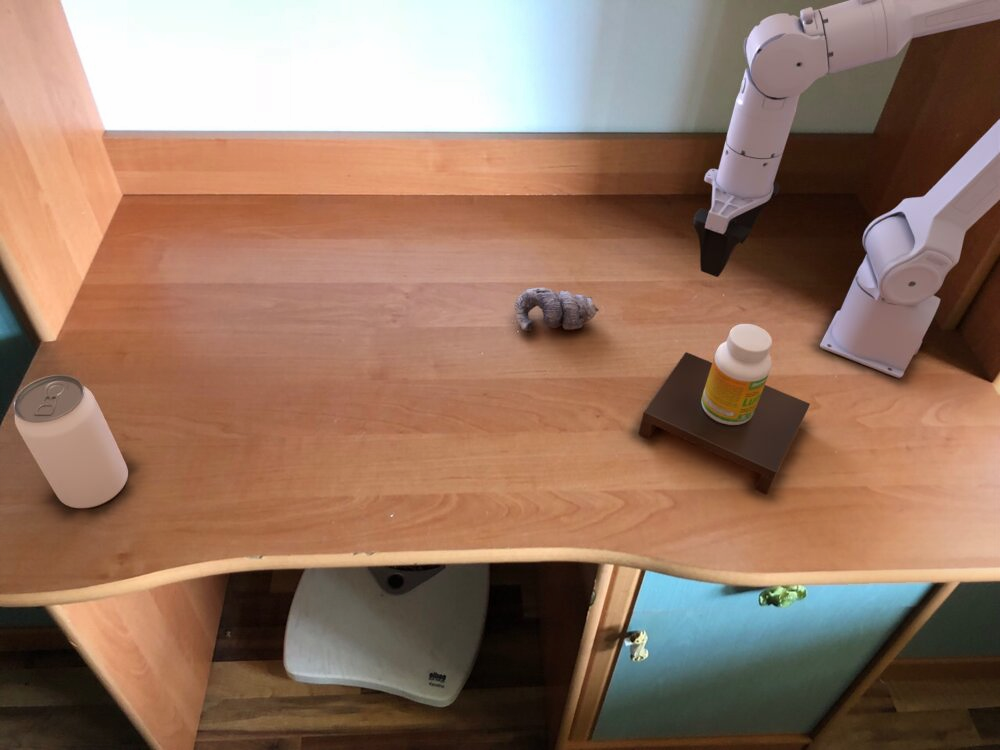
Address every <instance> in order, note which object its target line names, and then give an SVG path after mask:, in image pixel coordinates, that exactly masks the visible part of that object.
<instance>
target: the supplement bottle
mask: <svg viewBox="0 0 1000 750" xmlns="http://www.w3.org/2000/svg"><path fill="white" fill-rule="evenodd" d="M772 344H773V339H772V336H771V334H770V333H769V332H768V331H767V330H765V329H764V328H763V327H761V326H759V325H756V324H751V323H739V324H736V325H735V326H733V327H732V328H731V330H730V331H729V333H728V336H727V338H726V341H724V342H722V343H721V344H720V345H719V346H718V347H717V349H716V351H715V354H714V356H713V359H712V362H711V363H712V366H711V369H710V373H709V376H708V379H707V382H706V385H705V389H704V392H703V395H702V407H703V409H704V411H705V412H706V413H707V415H708V416H710V417H711V418H712V419H714V420H716V421H718V422H720V423H723V424H728V425H739V424H743V423H745V422H747V421H748V420H749V419H750V418H751V417H752V416H753V414H754V411H755V409H756V406H757V404H758V401H759V399H760V396H761V393H762V391H763V388H764V386H765V385H766V383H767V381H768V377H769V375H770V372H771V369H772V358H771V355H770V350H771V348H772Z"/></svg>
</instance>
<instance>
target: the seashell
mask: <svg viewBox="0 0 1000 750" xmlns="http://www.w3.org/2000/svg"><path fill="white" fill-rule="evenodd" d="M536 307H538V308H539V309H541V313H542V315H543V318H542V321H543V324H544V325H545V326H546V327H548V328H552V329H557V328H558V327H560V326H562V327H563V329H564V330H565V331H566V330H567V331H568V330H577V329H581V328H582V327H583V325H585V324H587V323H588V322H590V321H591V320H592V319H593V318H594V317H595V315H596V314H597V312H599V310H600V309H599V308H598V307H597V306H596V305H595V303H594V301H593V298H592V297H591V296H587V297H586V296H585V295H584V294H583V293H580V294H575V295H574V294H573V293H572V292H571V291H568V290H561V291H558V292H556V291H554V290H553V289H551V288H548V287H542V286H541V287H540V286H539V287H534V288H532V287H530V288H527V289H525V290H524V291H523V292H522V293H521V294H520V295H519V296H518V297H517V299H516V301H515V302H514V310H515V317H516V321H517V323H518V324H519V326H520V329H521V331H529V332H530V331H532V328H533V326H534V325H535V322H534V320H532V319H531V318H530V317H529V313H530V312H531V311H532V310H533V309H534V308H536Z"/></svg>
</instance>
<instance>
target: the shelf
mask: <svg viewBox="0 0 1000 750" xmlns="http://www.w3.org/2000/svg"><path fill="white" fill-rule="evenodd" d="M712 363H713V362H711V361H709V360H706V359H704V358H703V357H699V356H697V355H695V354H693V353H689V352H688V351H685V352H684V353H683V355H682V357H681V358H680V360H678V362H677V363H676V365H675V367H674V368H673V369H672V371H671V372H670V373H669V375H668V376H667V378H666V379H665V380H664V382H663V383H662V385H661V386H660V388H659V389H658V390H657V392H656V393H655V395H654V397H653V398H652V400H651V401H650V402H649V403H648V405H647V407H646V408H645V410H644V411H643V413H642V417H641V421H640V426H639V428H638V429H639V430H638V435H639V436H641V437H643V438H645V439H650V438H651V436H652V435H653V433H654V432H655V430H656V429H657V427H658V428H660V429H662V430H664V431H666V432H668V433H670V434H673V435H674V436H676V437H679V438H681V439H683V440H685V441H687V442H690V443H692V444H694V445H697V446H698V447H701V448H703V449H705V450H707V451H710V452H712V453H713V454H716V455H718V456H721V457H722V458H725V459H727V460H729V461H731V462H733V463H735V464H737V465H739V466H741V467H744V468H746V469H749V470H750V471H753V472H755V473H756V474H760V477H759V479H758V480H757V484H756V486H755V490H756V491H759V492H761V493H763V494H765V495H767V494H768V493H769V490H770V488H771V487H772V484H773V482H774V480H775V478H776V476H777V474H778V472H779V471H780V468H781V466H782V464H783V463H784V460H785V458H786V456H787V454H788V452H789V450H790V448H791V446H792V444H793V442H794V441H795V439H796V436H797V434H798V431H799V430H800V427H801V425H802V423H803V421H804V419H805V416H806V414H807V412H808V410H809V408H810V405H811V403H809V402H807V401H805V400H802V399H799V398H797V397H795V396H793V395H791V394H788V393H785V392H784V391H781V390H778V389H776V388H773V387H772V386H768V385H766V384H765V386H764V388H763V391H762V393H761V396H760V399H759V401H758V404H757V406H756V409H755V411H754V414H753V416H752V417H751V418H750V419H749V420H748V421H747V422H745V423H743V424H739V425H728V424H723V423H720V422H718V421H716V420H714V419H712V418H711V417H710V416H708V415H707V413H706V412H705V411H704V409H703V407H702V395H703V392H704V389H705V385H706V382H707V379H708V376H709V373H710V369H711V366H712Z"/></svg>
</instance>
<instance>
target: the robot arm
mask: <svg viewBox="0 0 1000 750" xmlns="http://www.w3.org/2000/svg"><path fill="white" fill-rule="evenodd" d="M799 14H800V15H799V16H797V15H795V14H792V15H790V14H789V13H786V12H785V13H784V12H783V13H782V12H781V13H775V14H772V15H769V16H767V17H765V18H763V19H762V20H761V21H759V24H758V25H755V26H754V27H753V28H752V30H751V31H750V33H749V35H748V37H745V38H744V40H743V54H744V57H745V60H746V62H747V64H748V67H746V68H745V70H744V74H743V78H742V81H741V84H740V90H739V92H738V94H737V96H736V99H735V103H734V107H733V110H732V115H731V119H730V123H729V126H728V130H727V134H726V138H725V142H724V146H723V151H722V154H721V158H720V161H719V165H718V169H716V168H710V169H709V170H707V172H706V173H705V175H704V179H703V181H704V182H705V183H707V184H710V185H711V186H712V188H711V189H712V190H711V207H710V209H709V210H708V209H705V208H702V207H700V208H699V210H698V211H697V212H696V213H695V214H694V217H693V227H694V229H695V232H696V234H697V238H698V242H699V261H700V262H699V263H700V264H699V265H700V272H702V273H704V274H708V275H710V276H713V277H715V278H719V277H720V275H721V274H722V272H723V271H724V270H725V268H726V266H727V264H728V262H729V260H730V258H731V257H732V256H731V255H732V254H733V252H734V250H735V248H736V247H737V245H739V244H743V243H744V242H745V241H746V240H747V239H748V237H749V235H750V234H751V231H752V230H753V228H754V226H755V224H756V222H757V220H758V218H759V217H760V215H761V213H762V211H764V208H765V207H766V206H767V205H768V204H769V203H770V202H771V201H772V200H773V199H774V198H775V197H776V196H777V194H778V193H779V192H780V189H781V185H780V184H779V183H778V182H777V181H775V179H776V176H777V173H778V170H779V167H780V163H781V160H782V157H783V154H784V150H785V147H786V144H787V142H788V138H789V135H790V132H791V128H792V126H793V125H792V124H793V122H794V119H795V115H796V112H797V109H798V103H799V100H800V96H801V94H802V93H804V92H805V91H807V89H809V88H810V87H811V86H812V84H813V83H814V82H815V81H816V80H818V79H820V78H823V77H826V76H828V75H829V76H830V75H832V74H837V73H840V72H843V71H847V70H851V69H855V68H858V67H862V66H866V65H870V64H873V63H877V62H878V63H879V62H881V61H885V60H888V59H892V58H894V57H896V56H897V55H898V54H899V53H900V52H901V50H902V49H903V48H904V47H905V46H906V44H907V43H908V42H909V41H910V40H911V39H915V38H920V37H924V36H928V35H933V34H938V33H943V32H947V31H951V30H956V29H960V28H965V27H966V28H967V27H969V26H975V25H979V24H984V23H988V22H989V23H990V22H992V21H998V20H1000V0H846V1H843V2H839V3H835V4H831V5H829V6H826V7H822V8H819V9H813V7H812V6H810V7H806V8H803V9H801V10H800V11H799ZM999 201H1000V118H999V119H998V120H997V121H996V122H995V123H994V124H993V125H992V126H991V127H990V128H989V129H988V131H987V132H985V133H984V135H982V137H980V138H979V139H978V140H977V141H976V142H975V144H974V145H973V146H972V147H970V149H968V151H967V152H966V153H965V154H964V155H963V156H962V157H961V158H960V159H959V160H958V161H957V162H956V163H955V164H954V165H953V166H952V167H951V168H950V169H949V170H948V171H947V172H946V173H945V174H944V175H943V176H942V177H941V178H940V179H939V180H938V181H937V182H936V184H935V185H933V186H932V188H931V189H929V190H928V192H927V193H926V194H924V195H923V196H916V197H908V198H907V197H906V198H904V199H902V201H901V202H900V203H899V204H898V205H897V206H895V207H894V208H893V209H892V210H890V211H888V212H886V213H884V214H882V215H880V216H878V217H876V218H875V219H874V220H872V221H871V222H870V223H869V224H868V225H867V226H866V228H865V230H864V232H863V236H862V246H863V249H864V251H865V252H866V254H865V257H864V258H863V260H862V263H861V264H860V266H859V267H858V270H857V271H856V274H855V276H854V278H853V280H852V283H851V285H850V287H849V290H848V292H847V294H846V296H845V298H844V301H843V303H842V306H841V307H840V310H837V311H836V312H835V315H834V317H833V319H832V320H831V323H830V324H829V326H828V329H827V330H826V332H825V333H824V336H823V338H822V340H821V342H820V344H819V347H820V349H823V350H825V351H828V352H831V353H833V354H836V355H837V356H838V355H839V356H840V357H842V358H843V357H844V358H846V359H848V360H851V361H854V362H856V363H859V364H861V365H864V366H866V367H869V368H871V369H874V370H877V371H879V372H881V373H883V374H886V375H890V376H892V377H895V378H897V379H901V378H902V377H903V376H904V374H905V371H906V370H907V368H908V366H909V364H910V362H911V360H912V359H913V356H914V355H917V354H918V352H919V350H920V348H921V345H922V344H923V339H924V337H925V335H926V334H927V331H928V329H929V327H930V325H931V323H932V322H933V319H934V317H935V315H936V313H937V310H938V309H939V306H940V303H941V298H939V297H938V296H936V295H935V294H937V292H938V291H939V290H940V289H941V287H942V286H943V283H944V280H945V279H946V277H947V275H948V273H949V272H950V271H951V270H952V269H953V268H954V267H955V266H956V265H957V264H958V263H959V261H960V257H961V254H962V248H963V244H964V239H965V235H966V233H967V231H968V230H969V229H971V227H973V225H975V223H977V222H978V220H980V218H982V217H983V216H984V215H985V214H986V213H987V212H988V211H989V210H990V209H991V208H993V206H994V205H996V204H997V203H998V202H999Z"/></svg>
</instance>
